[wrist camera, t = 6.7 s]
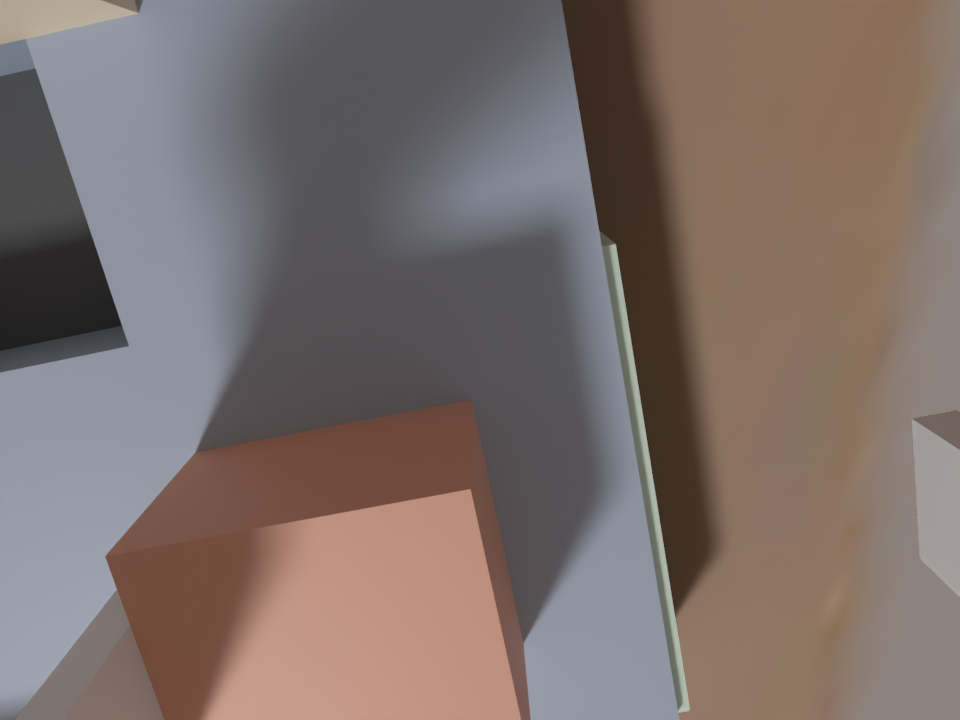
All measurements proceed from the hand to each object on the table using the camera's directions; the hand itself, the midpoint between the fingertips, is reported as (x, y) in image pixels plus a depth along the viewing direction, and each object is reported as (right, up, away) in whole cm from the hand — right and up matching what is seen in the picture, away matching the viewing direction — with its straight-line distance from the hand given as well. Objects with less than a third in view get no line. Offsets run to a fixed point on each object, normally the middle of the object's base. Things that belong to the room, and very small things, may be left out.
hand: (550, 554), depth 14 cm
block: (-4, 0, +2) cm, 4 cm away
